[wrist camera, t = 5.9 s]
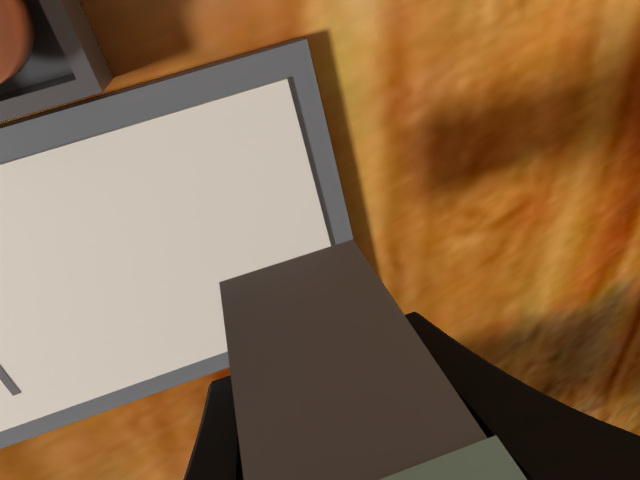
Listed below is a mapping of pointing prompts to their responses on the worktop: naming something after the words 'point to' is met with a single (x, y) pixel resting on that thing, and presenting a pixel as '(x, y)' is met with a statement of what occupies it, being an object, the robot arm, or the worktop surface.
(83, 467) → the worktop surface
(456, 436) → the block
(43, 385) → the sketch board
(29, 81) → the button housing
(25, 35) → the button
